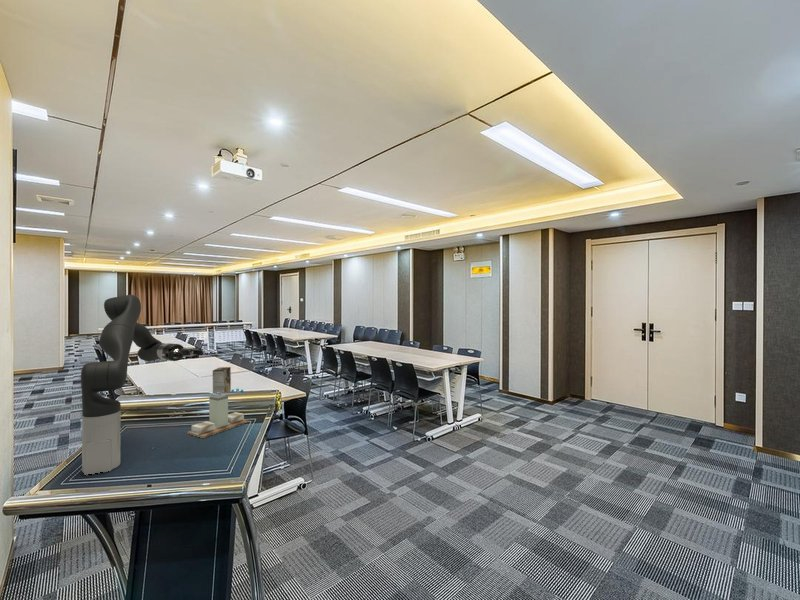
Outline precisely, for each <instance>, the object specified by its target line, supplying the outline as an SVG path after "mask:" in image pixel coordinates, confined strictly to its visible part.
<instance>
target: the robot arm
mask: <svg viewBox="0 0 800 600" xmlns="http://www.w3.org/2000/svg"><path fill="white" fill-rule="evenodd" d="M103 307H104V311H105V314H106V316H107V317H108V319H110V322H108V323H107V324H105V326H104V328H102V332H101V335H100V338H99V340H98V341H99V342H98V344H99V347H100V348H101V350H102V351H103V352H104V353H105V354H106V355H108V356H109V357H110V358H111V359H112V360H108V361H107V360H106V361H93V362H87V363H85V364H84V365H83V366H82V368H81V372H80V386H81V387H80V388H81V408H82V409H81V411H82V413H81V414H82V416H81V417H82V419H81V424H82V425H81V427H82V428H81V473H82V472H83V473H84V474H83V473H82V474H83V475H86V474H87V475H86V476H89V475H88V474H92V475H96V474H95V473H98V474H101V473H100V472H103V473H108V471H109V472H111V471H112V470H114V469H116V468H118V467H119V466H120V465H121V420H122V419H121V416H122V415H121V412H122V411H121V406H122V405H121V401H119V400H117V399H112V398H107V397H105V396H102V395H100V394H99V392H107V391H114V390H119V389H120V390H121V388H123V387H124V385H125V383H126V380H127V377H128V376H127V374H128V365H129V357H130V352H131V348H132V345H133V342H134V344H135V346H137V347H138V348H139V349H138V351H137V357H138V358H139V359H140V360H142V361H144V362H145V361H146V362H153V361H156V360H164V361H171V362H178V361H180V360H182V359H184V358H186V357H194V356H199V357H200V356H203V355H204V351H203V349H202V348H196V347H194V348H193V347H192V348H191V347H190V348H187V347H184V346H183V345H182V344H179V343H170V342H168V343H163V342H162V341H160V340H159V339H157V338H155V337H154V336H153V334H151V332H150V330H149V329H148V327H147V326H146V325H144V324H142V323H139V322H138V320H139V318H140V315H141V312H142V303H141V301H140V298H139V297H138V296H137V295H135V294H125V295H120V296H115V297H110V298H109V297H108V298H107V299H105V300H104V303H103Z"/></svg>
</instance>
